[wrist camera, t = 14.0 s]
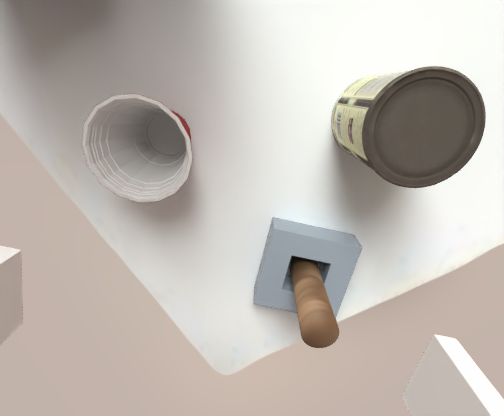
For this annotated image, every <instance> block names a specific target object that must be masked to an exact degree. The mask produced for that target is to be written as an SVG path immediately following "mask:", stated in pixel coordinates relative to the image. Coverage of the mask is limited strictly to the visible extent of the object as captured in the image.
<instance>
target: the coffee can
mask: <svg viewBox="0 0 504 416" xmlns="http://www.w3.org/2000/svg"><path fill="white" fill-rule="evenodd" d="M484 128H485V106H484V102H483V99H482V96H481V94H480V92H479V90H478V89H477V87H476V86H475V84H474V83H473V82H472V81H471V80H470V79H469V78H467V77H466V76H465V75H463V74H462V73H460V72H458V71H456V70H453V69H450V68H445V67H437V66H432V67H423V68H418V69H414V70H411V71H406V72H399V73H392V74H385V75H372V76H367V77H364V78H361V79H359V80H357V81H355V82H354V83H352V84H351V85H350V86H348V87H347V88H346V89H345V90H344V91H343V92H342V94H341V95H340V96H339V98H338V100H337V102H336V104H335V106H334V110H333V114H332V129H333V133H334V136H335V139H336V141H337V142H338V144H339V145H340V146H341V147H342V148H343V149H344V150H345V151H346V152H348V153H349V154H351V155H353V156H355V157H356V158H358V159H359V160H360V161H362V162H363V163H365V164H366V165H368V166H369V167H371V168H372V169H373V170H374V171H375V172H376V173H377V174H378V175H379V176H381V177H382V178H383V179H385V180H386V181H388V182H390V183H392V184H395V185H398V186H402V187H408V188H421V187H427V186H431V185H435V184H437V183H440V182H442V181H444V180H446V179H448V178H449V177H451V176H452V175H454V174H455V173H457V172H458V171H459V170H460V169H461V168H462V167H464V166H465V165H466V163H467V162H468V161H469V160H470V159H471V157H472V156H473V154H474V153H475V151H476V150H477V148H478V146H479V144H480V141H481V139H482V136H483V132H484Z"/></svg>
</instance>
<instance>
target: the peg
mask: <svg viewBox="0 0 504 416" xmlns="http://www.w3.org/2000/svg"><path fill="white" fill-rule="evenodd" d="M289 267H290V273H291V278H292V284H293V290H294V296H295V302H296V308H297V313H298V319H299V325H300V331H301V336H302V339H303V341H304V342H305V343H306V344H307V345H309V346H311V347H315V348H323V347H327V346H330V345H331V344H333V343H334V342H335V341H336V340H337V338H338V336H339V328H338V325H337V322H336V319H335V316H334V313H333V310H332V307H331V304H330V301H329V298H328V295H327V292H326V289H325V286H324V283H323V280H322V277H321V274H320V271H319V268H318V265H317V262H316V260H311V259H306V258H302V257H297V256H291V259H290V263H289Z"/></svg>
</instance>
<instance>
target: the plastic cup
mask: <svg viewBox="0 0 504 416" xmlns="http://www.w3.org/2000/svg"><path fill="white" fill-rule="evenodd" d="M190 139H191V136H190V129H189V127H188V125H187V123H186V121H185V120H184V119H183V118H182V117H181V116H179V115H178V114H177V113H175V112H174V111H171V110H169V109H167V108H166V107H165V106H164V105H163V104H162V103H160V102H159V101H156V100H153V99H150V98H147V97H144V96H141V95H138V94H127V95H114V96H112V97H110V98H108V99H107V100H105V101H103V102H102V103H100V104H98V105H96V106H95V107H94V109H93V111H92V112H91V114H90V115H89V117H88V118H87V120H86V122H85V123H84V130H83V138H82V147H83V150H84V154H85V157H86V161H87V164H88V166H89V168H90V169H91V171H92V172H93V173H94V175H95V176H96V178H97V179H98V180H99V182H100V183H101V184H102V185H104V186H105V187H106V188H108V189H109V190H111V191H112V192H113V193H115V194H116V195H118V196H120V197H123V198H126V199H129V200H133V201H136V202H154V201H160V200H162V199H164V198H166V197H168V196H170V195H172V194H175V193H176V192H177V191H178V189H179V188H180V187H181V186H182V185H183V183H184V182H185V181H186V180H187V179H188V175H189V171H190V167H191V164H192V160H193V158H192V151H191V145H190Z"/></svg>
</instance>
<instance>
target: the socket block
mask: <svg viewBox="0 0 504 416" xmlns="http://www.w3.org/2000/svg"><path fill="white" fill-rule="evenodd" d="M361 250H362V246H361V245H360V243H359V242H358V240H357V239H356V237H355V236H354V235H352V234H347V233H343V232H338V231H334V230H329V229H324V228H320V227H315V226H311V225H306V224H301V223H297V222H292V221H288V220H283V219H278V218H274V217H273V219H272V222H271V226H270V230H269V234H268V237H267V241H266V245H265V249H264V253H263V256H262V260H261V264H260V268H259V272H258V275H257V279H256V283H255V287H254V304H257V305H262V306H266V307H271V308H276V309H281V310H286V311H291V312H296V313H297V308H296V302H295V296H294V290H293V284H292V278H291V277H290V276H286V273H287V269H288V266H289V263H290V259H291V256H297V257H302V258H306V259H311V260H316V261H321V265H320V268H319V271H320V274H321V277H322V280H323V283H324V286H325V289H326V292H327V295H328V298H329V301H330V304H331V307H332V310H333V313H334V316H335V318H336V316H337V313H338V310H339V308H340V305H341V302H342V300H343V297H344V295H345V292H346V289H347V287H348V284H349V281H350V279H351V276H352V273H353V271H354V268H355V265H356V263H357V260H358V258H359V255H360V252H361Z"/></svg>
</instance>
